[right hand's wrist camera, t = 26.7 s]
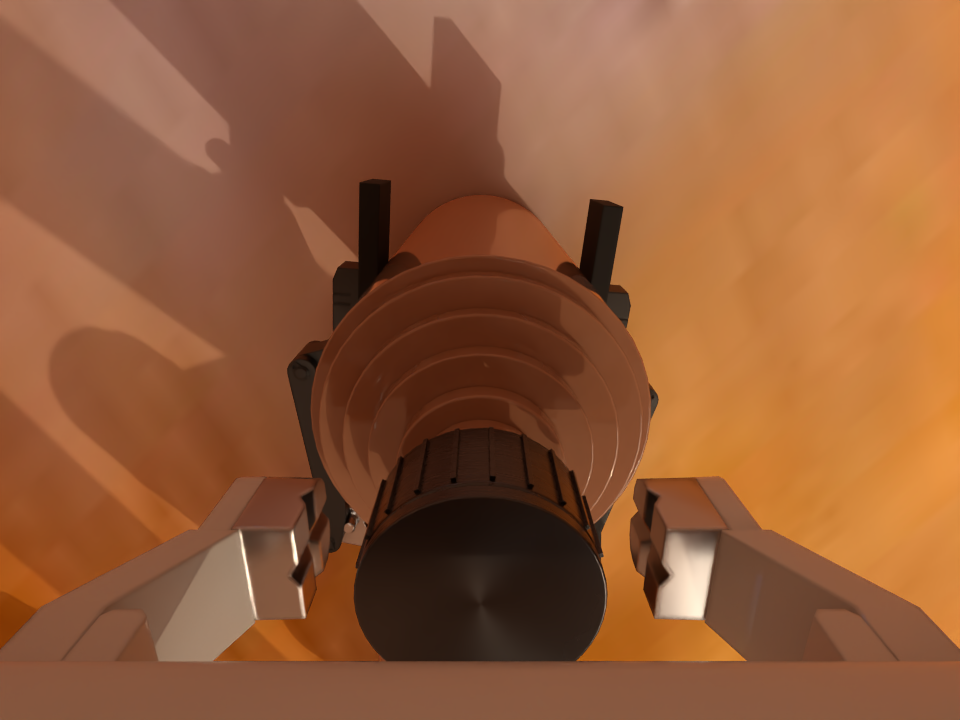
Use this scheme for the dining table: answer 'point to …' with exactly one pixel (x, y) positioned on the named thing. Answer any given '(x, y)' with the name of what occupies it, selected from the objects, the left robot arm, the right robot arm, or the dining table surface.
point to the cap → (480, 555)
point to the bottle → (481, 356)
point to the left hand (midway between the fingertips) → (491, 192)
